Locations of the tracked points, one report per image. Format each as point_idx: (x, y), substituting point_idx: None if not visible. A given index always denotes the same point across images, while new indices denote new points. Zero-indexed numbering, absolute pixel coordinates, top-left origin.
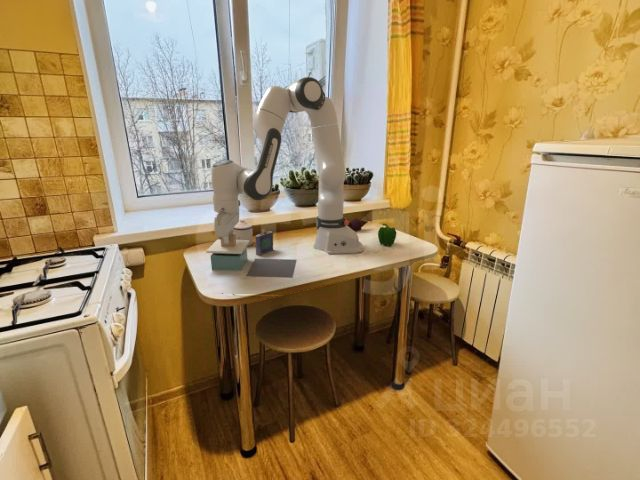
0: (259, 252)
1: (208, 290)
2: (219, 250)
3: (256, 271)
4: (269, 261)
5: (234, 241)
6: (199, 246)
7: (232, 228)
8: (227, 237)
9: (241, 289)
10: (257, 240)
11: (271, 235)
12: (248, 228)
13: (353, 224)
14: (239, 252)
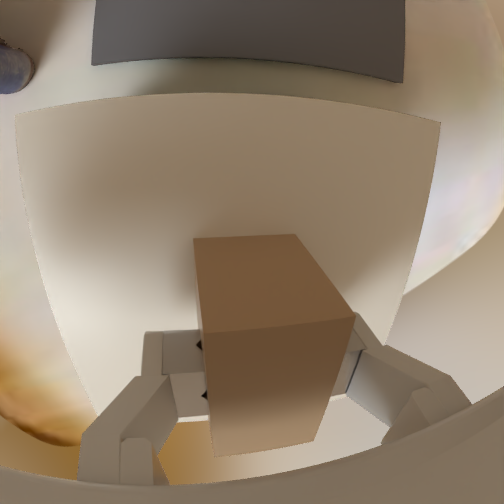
0: (19, 56)
1: (472, 230)
2: (377, 327)
3: (342, 18)
4: None
5: (290, 266)
6: (27, 415)
7: (324, 476)
8: (413, 366)
9: (486, 103)
10: None
11: None
12: None
13: None
14: (433, 142)
